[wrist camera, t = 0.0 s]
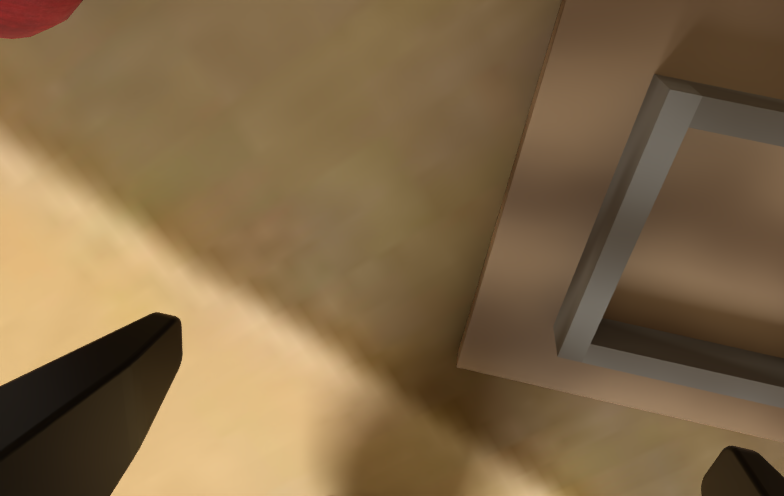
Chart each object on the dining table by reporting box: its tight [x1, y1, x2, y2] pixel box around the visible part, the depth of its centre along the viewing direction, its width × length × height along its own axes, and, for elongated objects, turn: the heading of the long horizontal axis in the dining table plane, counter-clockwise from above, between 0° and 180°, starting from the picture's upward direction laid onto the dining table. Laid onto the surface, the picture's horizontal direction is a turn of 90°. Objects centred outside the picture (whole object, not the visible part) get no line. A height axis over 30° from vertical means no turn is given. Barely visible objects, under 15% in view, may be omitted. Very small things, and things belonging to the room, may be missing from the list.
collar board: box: [457, 0, 784, 443], centre depth 21 cm, size 18×18×3 cm
